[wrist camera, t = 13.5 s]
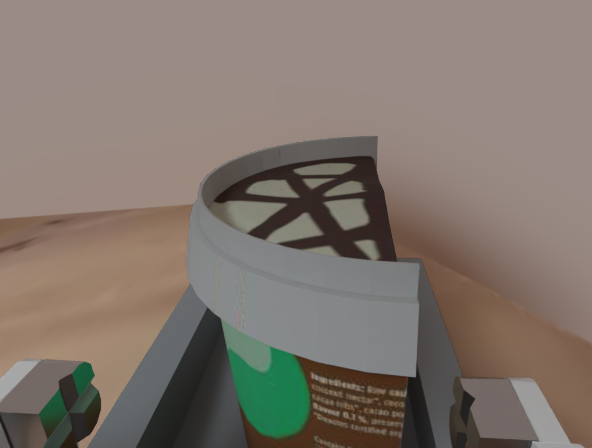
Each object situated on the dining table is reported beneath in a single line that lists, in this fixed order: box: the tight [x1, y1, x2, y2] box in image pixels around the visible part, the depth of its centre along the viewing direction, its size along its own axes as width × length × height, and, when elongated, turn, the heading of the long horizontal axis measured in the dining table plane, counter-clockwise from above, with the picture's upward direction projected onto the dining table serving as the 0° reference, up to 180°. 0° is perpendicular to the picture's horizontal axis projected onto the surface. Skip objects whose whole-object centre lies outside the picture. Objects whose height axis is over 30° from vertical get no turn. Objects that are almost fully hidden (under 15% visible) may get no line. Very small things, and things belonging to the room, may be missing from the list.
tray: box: [87, 258, 462, 448], centre depth 17 cm, size 12×18×4 cm, turn 174°
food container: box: [186, 136, 420, 448], centre depth 15 cm, size 12×6×10 cm, turn 174°
